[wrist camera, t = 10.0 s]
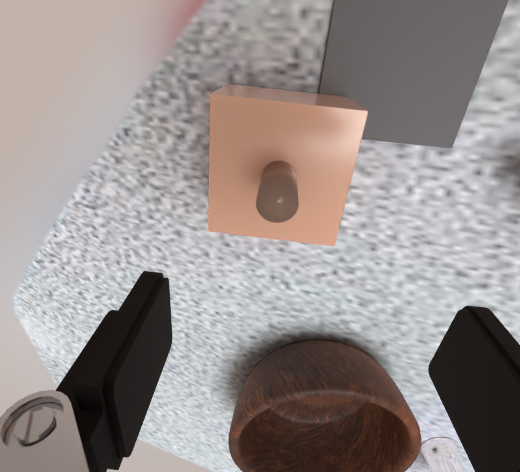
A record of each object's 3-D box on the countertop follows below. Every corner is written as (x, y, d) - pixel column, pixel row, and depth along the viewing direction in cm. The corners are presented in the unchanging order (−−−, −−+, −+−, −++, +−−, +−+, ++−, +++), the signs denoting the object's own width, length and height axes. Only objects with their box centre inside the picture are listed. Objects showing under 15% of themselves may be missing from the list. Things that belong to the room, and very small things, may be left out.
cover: (229, 83, 30) (191, 102, 18) (348, 96, 30) (387, 125, 18) (224, 193, 35) (193, 263, 24) (324, 205, 35) (342, 281, 23)
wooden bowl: (210, 398, 53) (197, 466, 44) (288, 298, 42) (292, 361, 33) (332, 444, 58) (343, 513, 49) (430, 365, 48) (467, 435, 39)
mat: (342, -49, 25) (344, -51, 25) (514, -29, 25) (520, -31, 25) (312, 132, 32) (312, 133, 31) (448, 146, 32) (451, 148, 32)
